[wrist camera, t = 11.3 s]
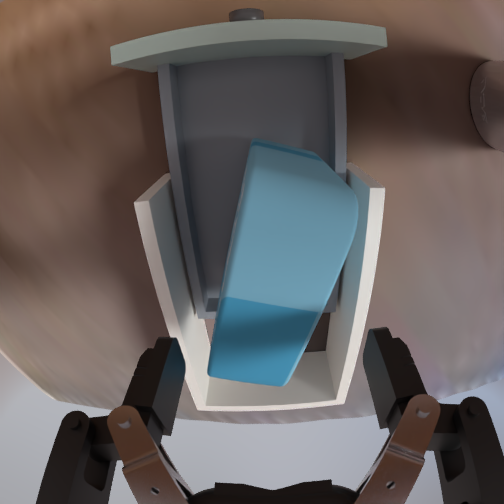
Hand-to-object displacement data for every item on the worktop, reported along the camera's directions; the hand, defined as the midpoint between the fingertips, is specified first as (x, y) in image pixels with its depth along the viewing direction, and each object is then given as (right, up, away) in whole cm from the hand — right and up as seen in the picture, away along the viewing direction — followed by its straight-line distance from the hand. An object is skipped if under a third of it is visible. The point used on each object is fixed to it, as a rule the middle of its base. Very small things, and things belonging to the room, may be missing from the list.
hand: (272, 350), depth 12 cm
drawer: (0, +10, +11) cm, 15 cm away
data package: (0, +7, +12) cm, 14 cm away
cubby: (0, +1, +16) cm, 16 cm away
